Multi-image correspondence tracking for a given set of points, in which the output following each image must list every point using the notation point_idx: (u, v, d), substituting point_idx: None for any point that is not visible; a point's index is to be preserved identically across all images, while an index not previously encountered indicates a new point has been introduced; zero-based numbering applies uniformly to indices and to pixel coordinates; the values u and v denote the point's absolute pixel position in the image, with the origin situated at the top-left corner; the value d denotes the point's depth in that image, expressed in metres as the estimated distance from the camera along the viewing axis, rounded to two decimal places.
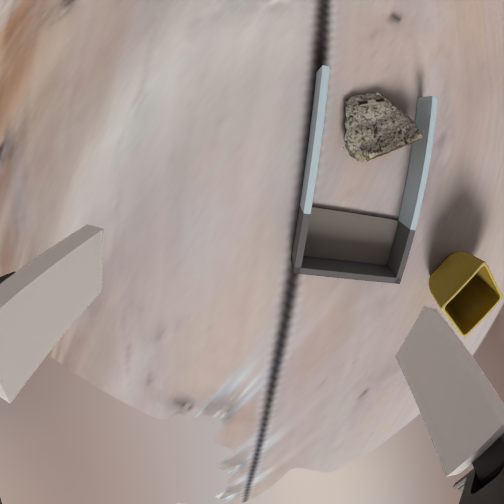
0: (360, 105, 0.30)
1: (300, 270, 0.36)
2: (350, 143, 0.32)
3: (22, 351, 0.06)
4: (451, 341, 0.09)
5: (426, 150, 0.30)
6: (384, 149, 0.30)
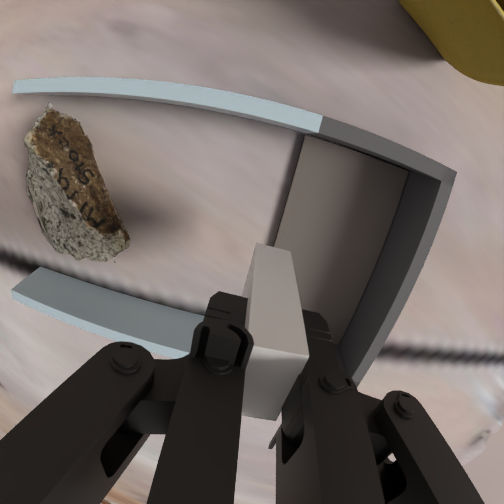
0: (45, 231, 0.16)
1: (354, 381, 0.17)
2: (100, 256, 0.16)
3: None
4: (277, 273, 0.10)
5: (104, 91, 0.11)
6: (76, 212, 0.13)
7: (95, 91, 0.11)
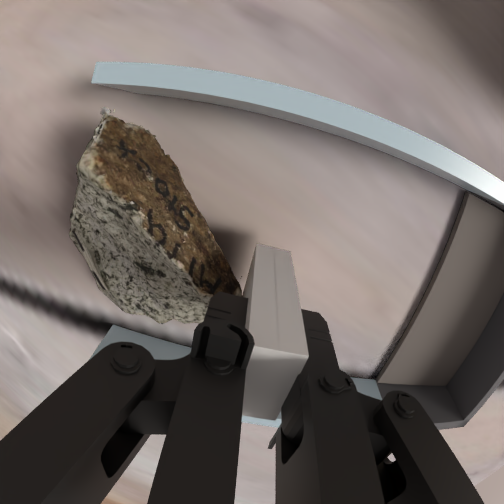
0: (106, 288, 0.13)
1: (466, 419, 0.14)
2: (200, 319, 0.13)
3: None
4: (277, 272, 0.10)
5: (295, 111, 0.08)
6: (181, 274, 0.10)
7: (279, 107, 0.08)
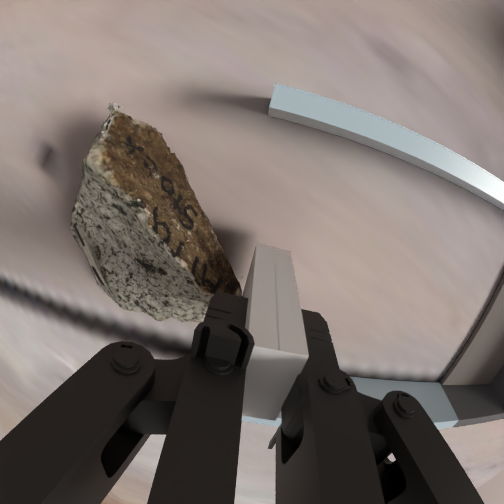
0: (105, 284, 0.13)
1: None
2: (199, 318, 0.13)
3: None
4: (277, 273, 0.10)
5: (455, 174, 0.09)
6: (184, 273, 0.10)
7: (447, 170, 0.09)
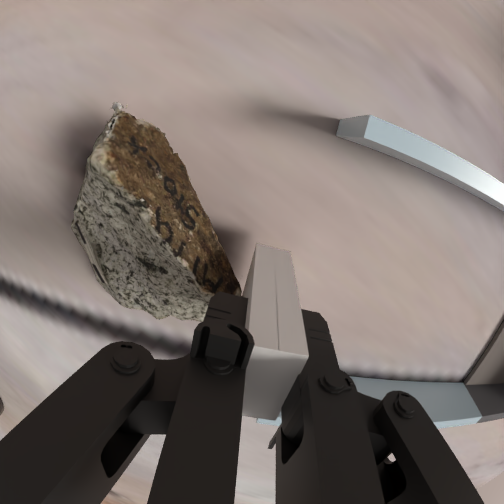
0: (106, 282, 0.13)
1: None
2: (198, 316, 0.13)
3: None
4: (277, 273, 0.10)
5: (502, 202, 0.09)
6: (185, 272, 0.10)
7: (497, 199, 0.09)
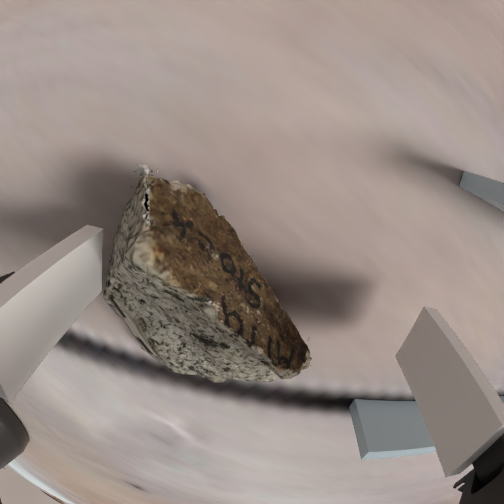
0: (154, 354, 0.13)
1: None
2: (262, 378, 0.12)
3: (22, 351, 0.06)
4: (451, 341, 0.09)
5: None
6: (258, 356, 0.09)
7: None
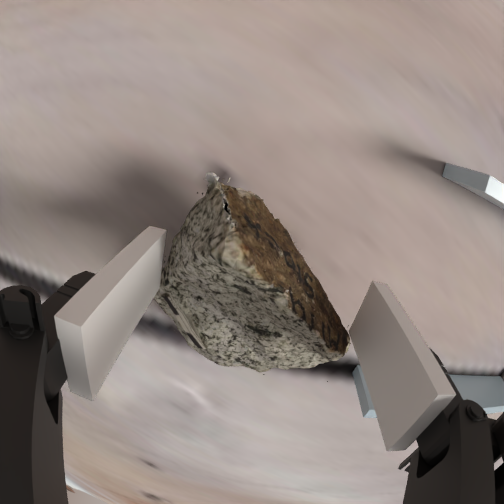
0: (203, 348, 0.14)
1: None
2: (305, 365, 0.14)
3: (107, 348, 0.07)
4: (394, 312, 0.10)
5: None
6: (314, 340, 0.10)
7: None
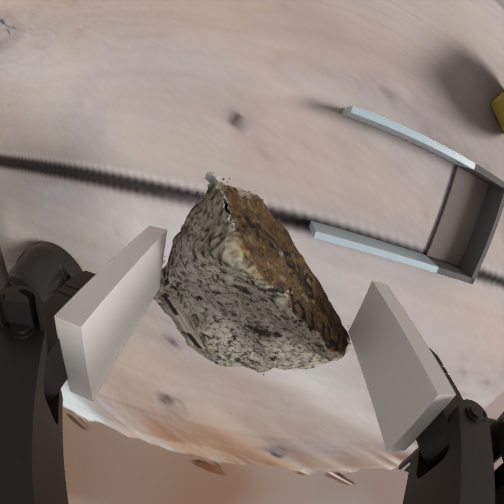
0: (203, 348, 0.14)
1: (472, 278, 0.32)
2: (305, 365, 0.14)
3: (107, 348, 0.07)
4: (394, 312, 0.10)
5: (409, 135, 0.27)
6: (315, 340, 0.10)
7: (406, 134, 0.27)
